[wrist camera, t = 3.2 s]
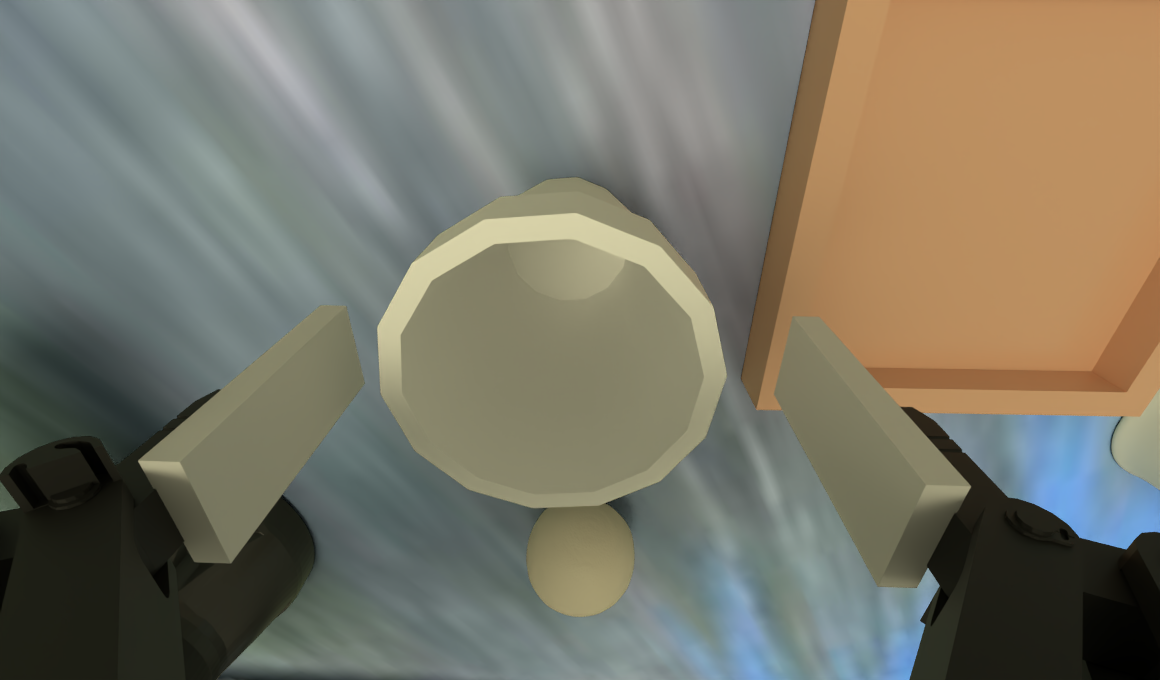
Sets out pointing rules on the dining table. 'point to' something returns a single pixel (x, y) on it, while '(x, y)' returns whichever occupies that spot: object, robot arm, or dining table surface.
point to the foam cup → (552, 350)
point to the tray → (974, 205)
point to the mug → (1140, 443)
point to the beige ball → (580, 558)
